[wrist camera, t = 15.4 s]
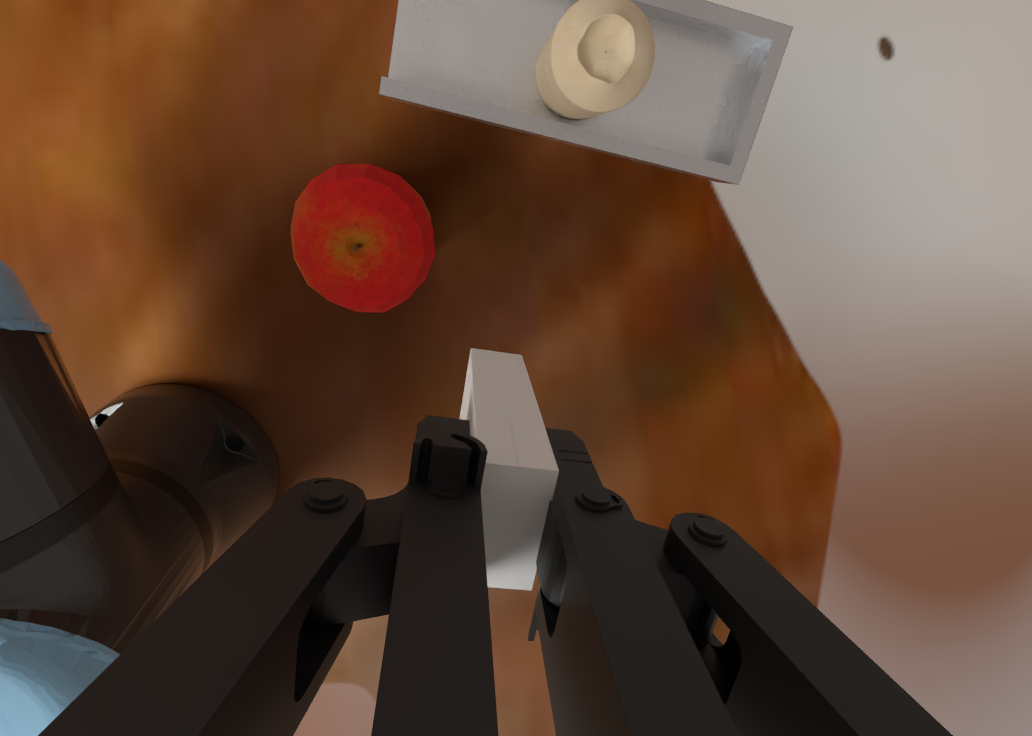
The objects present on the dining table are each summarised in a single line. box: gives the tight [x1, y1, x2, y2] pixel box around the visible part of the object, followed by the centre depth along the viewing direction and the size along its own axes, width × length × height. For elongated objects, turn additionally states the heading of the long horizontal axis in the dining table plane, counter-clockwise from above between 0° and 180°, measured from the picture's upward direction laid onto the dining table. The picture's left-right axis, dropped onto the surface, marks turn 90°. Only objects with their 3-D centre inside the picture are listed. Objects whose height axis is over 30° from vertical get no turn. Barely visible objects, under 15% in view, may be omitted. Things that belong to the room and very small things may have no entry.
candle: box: [536, 0, 655, 120], centre depth 33 cm, size 6×6×10 cm
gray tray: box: [379, 0, 793, 185], centre depth 37 cm, size 24×10×4 cm, turn 77°
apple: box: [290, 164, 435, 313], centre depth 36 cm, size 9×8×12 cm
